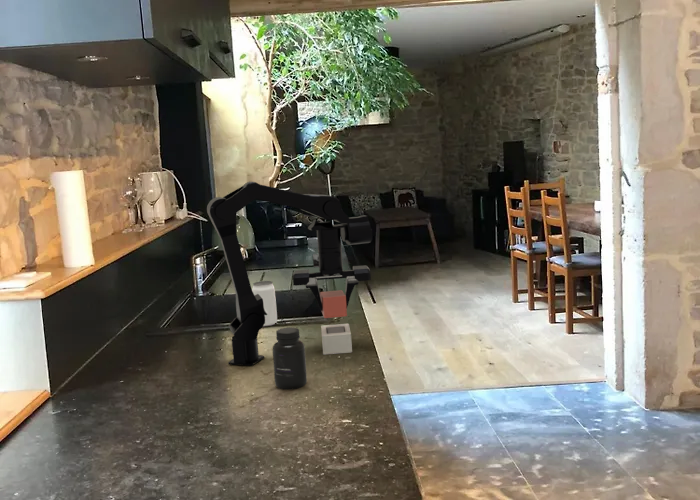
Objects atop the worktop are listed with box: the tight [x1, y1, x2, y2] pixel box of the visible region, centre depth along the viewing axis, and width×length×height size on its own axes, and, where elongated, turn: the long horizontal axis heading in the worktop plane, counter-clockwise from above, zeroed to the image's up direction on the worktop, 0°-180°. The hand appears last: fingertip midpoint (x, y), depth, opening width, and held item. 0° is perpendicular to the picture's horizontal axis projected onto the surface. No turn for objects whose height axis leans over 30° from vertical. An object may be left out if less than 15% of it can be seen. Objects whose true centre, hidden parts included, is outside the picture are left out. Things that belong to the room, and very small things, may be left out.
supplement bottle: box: [272, 326, 308, 391], centre depth 146 cm, size 7×7×12 cm
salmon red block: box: [319, 289, 348, 319], centre depth 169 cm, size 7×6×5 cm
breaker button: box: [327, 327, 344, 334], centre depth 171 cm, size 5×4×3 cm
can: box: [251, 280, 278, 327], centre depth 198 cm, size 6×6×12 cm
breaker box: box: [320, 323, 353, 356], centre depth 171 cm, size 10×7×4 cm
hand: (333, 309), depth 170 cm, fingers closed on salmon red block, 6 cm apart
